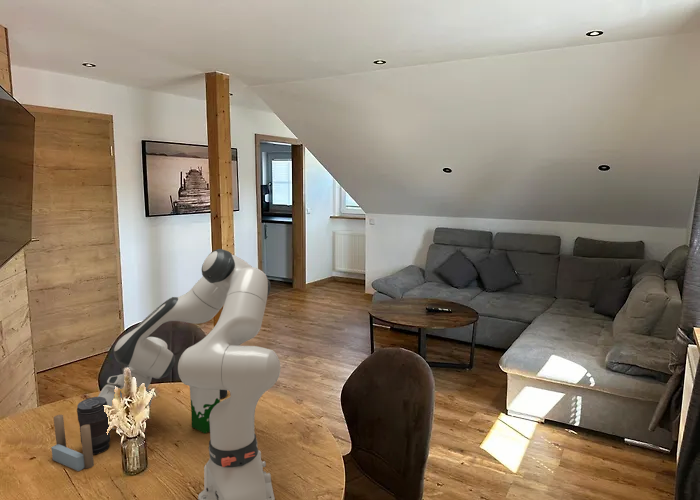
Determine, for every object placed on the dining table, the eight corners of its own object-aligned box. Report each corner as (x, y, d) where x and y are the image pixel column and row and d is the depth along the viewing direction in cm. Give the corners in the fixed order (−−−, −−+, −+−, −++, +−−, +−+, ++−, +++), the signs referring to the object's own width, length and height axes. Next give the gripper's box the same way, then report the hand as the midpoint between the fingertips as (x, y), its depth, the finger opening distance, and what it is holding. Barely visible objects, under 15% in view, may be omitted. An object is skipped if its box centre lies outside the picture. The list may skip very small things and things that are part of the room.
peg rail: (63, 451, 148) (59, 414, 146) (95, 464, 141) (91, 425, 139) (49, 458, 144) (45, 420, 142) (81, 472, 137) (77, 432, 135)
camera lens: (75, 451, 148) (70, 404, 145) (100, 439, 155) (96, 394, 152) (92, 459, 144) (87, 411, 141) (117, 445, 151) (112, 399, 148)
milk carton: (209, 417, 168) (206, 360, 165) (227, 424, 163) (224, 367, 160) (187, 427, 161) (183, 369, 158) (204, 436, 156) (201, 376, 153)
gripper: (162, 394, 157) (139, 438, 150) (119, 383, 166) (95, 424, 159) (149, 387, 152) (125, 431, 145) (105, 376, 162) (81, 417, 155)
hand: (109, 427), depth 152 cm, fingers closed
